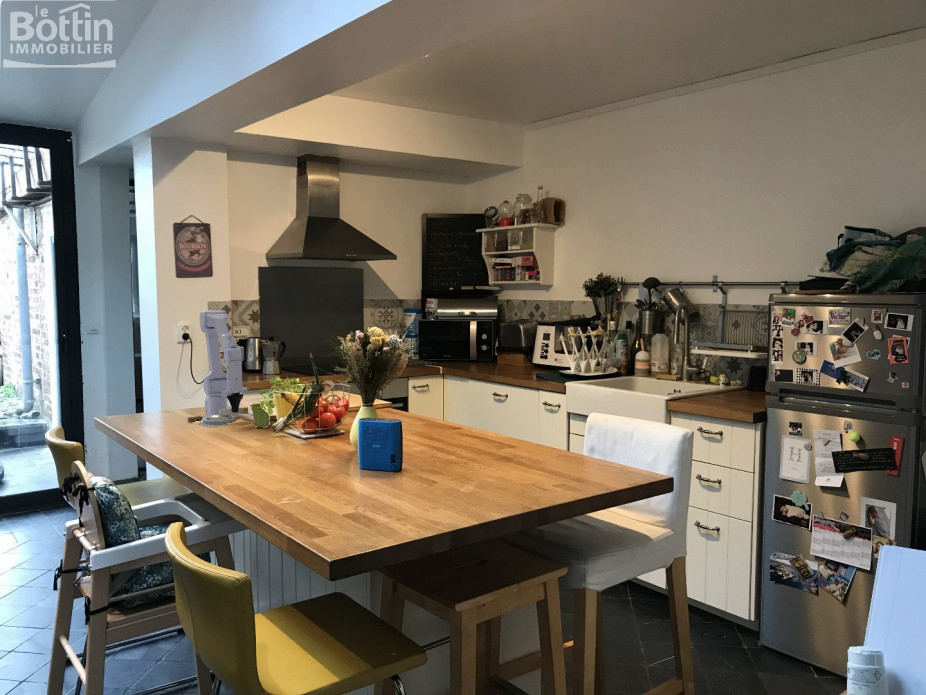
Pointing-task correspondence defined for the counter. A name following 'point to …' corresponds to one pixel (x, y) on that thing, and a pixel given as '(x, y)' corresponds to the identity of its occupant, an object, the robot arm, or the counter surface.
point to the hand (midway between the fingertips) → (235, 412)
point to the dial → (227, 413)
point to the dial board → (217, 422)
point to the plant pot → (259, 416)
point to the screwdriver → (195, 418)
